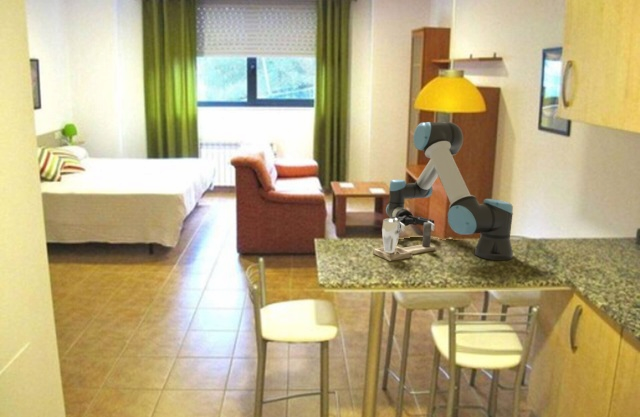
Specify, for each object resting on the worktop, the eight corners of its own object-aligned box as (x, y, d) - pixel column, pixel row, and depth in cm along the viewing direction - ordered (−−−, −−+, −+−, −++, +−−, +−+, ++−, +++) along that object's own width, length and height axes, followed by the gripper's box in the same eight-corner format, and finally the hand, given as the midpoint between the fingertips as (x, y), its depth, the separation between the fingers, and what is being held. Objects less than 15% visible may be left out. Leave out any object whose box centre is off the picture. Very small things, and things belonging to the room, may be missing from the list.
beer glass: (386, 259, 239) (388, 222, 236) (377, 254, 245) (379, 218, 242) (401, 257, 242) (403, 221, 238) (392, 252, 248) (394, 217, 245)
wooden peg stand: (440, 252, 250) (442, 225, 248) (389, 260, 237) (391, 232, 234) (422, 245, 260) (423, 219, 257) (372, 253, 246) (373, 226, 244)
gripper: (427, 223, 285) (445, 235, 264) (376, 225, 280) (391, 237, 259) (428, 208, 283) (446, 219, 263) (377, 209, 278) (392, 220, 258)
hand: (419, 228), depth 261 cm, fingers open, 13 cm apart
